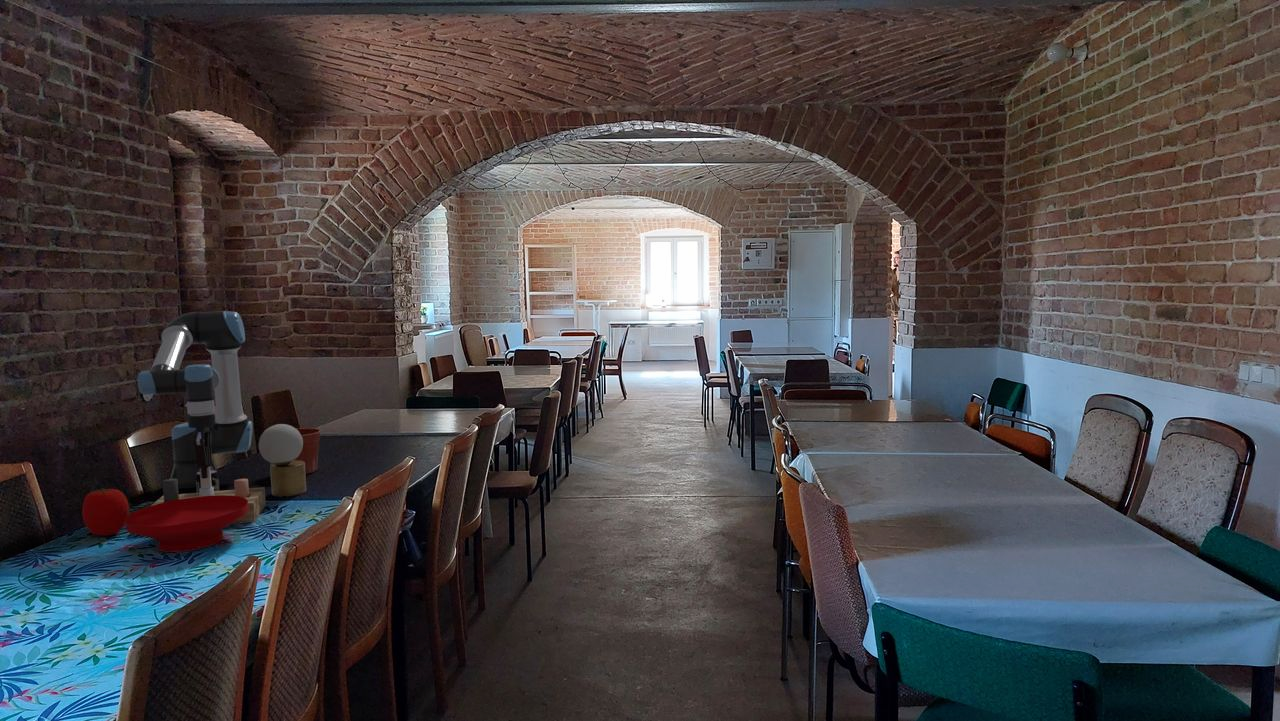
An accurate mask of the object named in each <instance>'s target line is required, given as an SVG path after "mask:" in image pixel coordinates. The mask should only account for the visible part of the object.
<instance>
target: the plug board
mask: <svg viewBox="0 0 1280 721" xmlns="http://www.w3.org/2000/svg"><path fill="white" fill-rule="evenodd" d="M265 488H266V487H262V486H261V487H250V488H249V498H245V499H247V500H248V508H249V510H248V512H247V513H246V514H245V515H244V516H242V517H240V518H238V519H237V520H235V521H233V522H232V523H231V524H230V525H234V524H244V523H255V522H256V520H257V519H258V517H259V516H260V514H261V513H262V511H263V509H264V508H265V506H266V505H267V504H266V492H265V491H266V490H265ZM178 494H179V493H178ZM215 495H230V496H235V489H227V490H219V491H214V496H215ZM192 497H200V493H197V492H191V493H190V492H188V493H180V494H179V499H185V498H192ZM160 503H164V495H162V496H161V497H159V498H158V499H157V500H156V501H155V502H154V503H152V504H151V505H150V506H152V505H156V504H160Z"/></svg>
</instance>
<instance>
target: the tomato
mask: <svg viewBox="0 0 1280 721" xmlns="http://www.w3.org/2000/svg"><path fill="white" fill-rule="evenodd" d="M81 510H82V511H81V513H82V514H81V515H82V519H83V522H84V524H85V527H86V528H87V529H88V531H89V532H90V533H91V534H93V535H96V536H101V537H105V536H106V537H107V536H113V535H115V534H117V533H119V531H121V530H122V529H123V528H124V526H125V521H124V520H125V518H126V517H127V516H128V515H130V506H129V501H128V498H127V497H126V496H125V494H124V493H123V492H122V491H120V490H119V489H115V488H104V487H100V489H95V490H93V491H90V493H87V495H86V496H85V498H84V499H83V503H82V509H81Z"/></svg>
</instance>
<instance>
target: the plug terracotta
mask: <svg viewBox="0 0 1280 721" xmlns="http://www.w3.org/2000/svg"><path fill="white" fill-rule="evenodd" d="M233 484H234V490H235V496H239V497H243V498H249V479H248V478H238V479H235V480H233Z"/></svg>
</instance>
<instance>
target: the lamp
mask: <svg viewBox="0 0 1280 721" xmlns="http://www.w3.org/2000/svg"><path fill="white" fill-rule="evenodd" d="M297 429H298V428H295V427H294V426H292V425H289V424H285V423H277V424H274V425H271V426H269V427H268V428H267V429H265V430H264V431H263V433H261V435H260V437H259V439H258V451H259V453H260V455H261V456H262V458H263V459H264V460H265V461H267V462H268V463H269V464H270V465H269V468H270V470H269V471H270V486H271V496H274V497H278V498H279V497H280V498H283V496H286V497H293V496H294V497H295V496H298V495H302V494H304V493H306V492H307V478H306V477H307V476H306V475H307V474H305V462H304V461H299V460H294V459H296V458H297V457H298V456H299V454H300V453H301V451H302V448H303V439H302V436H301V434H300V433H299V431H298V430H297Z"/></svg>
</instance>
